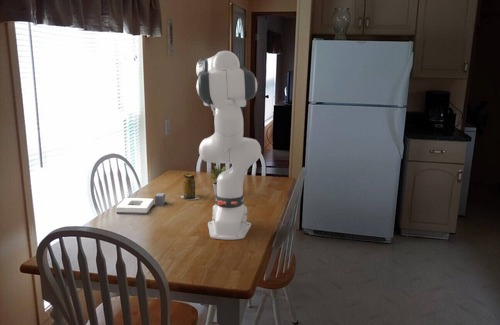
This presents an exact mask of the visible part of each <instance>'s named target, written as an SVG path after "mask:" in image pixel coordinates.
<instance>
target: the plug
mask: <svg viewBox="0 0 500 325" xmlns="http://www.w3.org/2000/svg"><path fill="white" fill-rule="evenodd" d="M165 204H166V193H165V192H157V193H156V194H155V196H154V205H156V206H157V207H159V206H160V207H162V206H163V207H164V206H165Z"/></svg>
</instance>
